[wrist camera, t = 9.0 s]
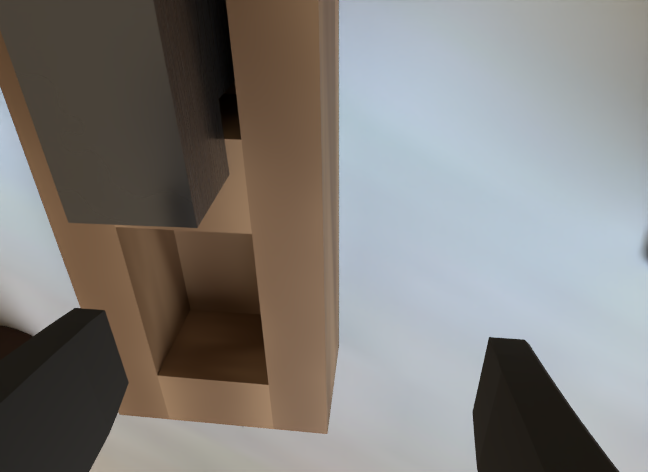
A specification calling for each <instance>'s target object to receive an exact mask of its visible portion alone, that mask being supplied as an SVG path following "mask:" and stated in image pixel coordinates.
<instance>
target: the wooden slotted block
mask: <svg viewBox="0 0 648 472" xmlns="http://www.w3.org/2000/svg"><path fill="white" fill-rule="evenodd" d="M226 5H227V14H228V23H229V32H230V41H231V50H232V59H233V68H234V77H235V81H234V82H233V83H232V84H231V86H230V87H229V88H228V89H227V90H226V91H225V92H224V94H223V95H222V96H221V97H220V98H219V104H220V111H221V118H222V125H223V132H224V139H225V146H226V153H227V160H228V167H229V174H230V175H229V176H228V178H227V180H226V181H225V183H224V185H223V186H222V188H221V190H220V191H219V193H218V195H217V196H216V198H215V200H214V201H213V203H212V205H211V206H210V208H209V210H208V211H207V213H206V215H205V216H204V218H203V220H202V221H201V223H200V225H199V226H198V228H182V227H157V226H133V225H108V224H83V223H68V220H67V217H66V215H65V212H64V209H63V206H62V203H61V200H60V198H59V195H58V192H57V189H56V186H55V183H54V181H53V178H52V175H51V172H50V169H49V166H48V164H47V161H46V158H45V155H44V152H43V150H42V147H41V144H40V141H39V138H38V135H37V133H36V130H35V127H34V124H33V121H32V118H31V116H30V113H29V110H28V107H27V104H26V102H25V99H24V96H23V93H22V90H21V87H20V85H19V82H18V79H17V76H16V73H15V70H14V68H13V65H12V62H11V59H10V56H9V53H8V51H7V48H6V45H5V42H4V39H3V37H2V34H1V31H0V87H1V90H2V93H3V95H4V98H5V101H6V104H7V106H8V109H9V112H10V115H11V117H12V120H13V123H14V126H15V128H16V131H17V134H18V137H19V139H20V142H21V145H22V148H23V150H24V153H25V156H26V159H27V161H28V164H29V167H30V170H31V172H32V175H33V178H34V181H35V183H36V186H37V189H38V192H39V194H40V197H41V200H42V203H43V205H44V208H45V211H46V214H47V216H48V219H49V222H50V225H51V228H52V230H53V233H54V236H55V239H56V241H57V244H58V247H59V250H60V252H61V255H62V258H63V261H64V263H65V266H66V269H67V272H68V274H69V277H70V280H71V283H72V285H73V288H74V291H75V294H76V296H77V299H78V302H79V305H80V307H81V308H83V309H97V310H105V312H106V315H107V318H108V321H109V324H110V327H111V330H112V333H113V336H114V339H115V342H116V345H117V348H118V351H119V354H120V357H121V360H122V363H123V367H124V370H125V373H126V376H127V379H128V382H129V384H128V386H127V389H126V392H125V394H124V397H123V400H122V403H121V405H120V408H119V411H118V412H119V415H130V416H141V417H152V418H162V419H173V420H184V421H194V422H205V423H216V424H226V425H237V426H248V427H258V428H269V429H280V430H290V431H301V432H312V433H322V434H327V432H328V425H329V417H330V409H331V402H332V394H333V386H334V379H335V371H336V363H337V356H338V348H339V0H226Z"/></svg>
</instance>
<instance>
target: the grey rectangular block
mask: <svg viewBox="0 0 648 472" xmlns="http://www.w3.org/2000/svg"><path fill="white" fill-rule="evenodd" d="M0 31H1V34H2V37H3V39H4V42H5V45H6V48H7V51H8V53H9V56H10V59H11V62H12V65H13V68H14V70H15V73H16V76H17V79H18V82H19V85H20V87H21V90H22V93H23V96H24V99H25V102H26V104H27V107H28V110H29V113H30V116H31V118H32V121H33V124H34V127H35V130H36V133H37V135H38V138H39V141H40V144H41V147H42V150H43V152H44V155H45V158H46V161H47V164H48V166H49V169H50V172H51V175H52V178H53V181H54V183H55V186H56V189H57V192H58V195H59V198H60V200H61V203H62V206H63V209H64V212H65V215H66V217H67V220H68V223H83V224H108V225H133V226H157V227H182V228H198V226H199V225H200V223H201V221H202V220H203V218H204V216H205V215H206V213H207V211H208V210H209V208H210V206H211V205H212V203H213V201H214V200H215V198H216V196H217V195H218V193H219V191H220V190H221V188H222V186H223V185H224V183H225V181H226V180H227V178H228V176H229V175H230V174H229V167H228V160H227V153H226V146H225V139H224V132H223V125H222V118H221V111H220V104H219V98H220V97H221V96H222V95H223V94H224V92H225V91H226V90H227V89H228V88H229V87H230V86H231V84H232V83H233V82H234V81H235V77H234V68H233V59H232V50H231V41H230V32H229V23H228V14H227V5H226V0H0Z"/></svg>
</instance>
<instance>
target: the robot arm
mask: <svg viewBox="0 0 648 472" xmlns="http://www.w3.org/2000/svg"><path fill="white" fill-rule="evenodd" d="M128 384H129V382H128V379H127V376H126V373H125V370H124V367H123V363H122V360H121V357H120V354H119V351H118V348H117V345H116V342H115V339H114V336H113V333H112V330H111V327H110V324H109V321H108V318H107V315H106V312H105V310H97V309H83V308H74V309H73V310H71V311H70V312H68V313H67V314H65V315H64V316H62V317H61V318H59V319H58V320H56V321H55V322H53V323H52V324H50V325H49V326H48V327H46V328H45V329H43V330H42V331H40V332H39V333H38V334H36V335H35V336H33V337H32V338H31V339H29V340H28V341H26V342H25V343H24V344H22V345H21V346H19V347H18V348H17V349H15V350H14V351H12V352H11V353H10V354H8V355H7V356H5V357H4V358H3V359H1V360H0V472H89V471H90V469H91V467H92V465H93V463H94V461H95V460H96V458H97V456H98V454H99V452H100V450H101V448H102V446H103V444H104V442H105V441H106V439H107V437H108V435H109V433H110V430H111V428H112V426H113V423H114V421H115V418H116V416H117V413H118V411H119V408H120V405H121V403H122V400H123V397H124V394H125V392H126V389H127V386H128ZM473 424H474V437H475V450H476V461H477V470H478V472H619V471H618V469H617V468H616V467H615V466H614V464H613V463H612V462H611V461H610V459H609V458H608V457H607V455H606V454H605V453H604V451H603V450H602V449H601V447H600V446H599V444H598V443H597V442H596V440H595V439H594V438H593V436H592V435H591V434H590V432H589V431H588V430H587V428H586V427H585V426H584V424H583V423H582V422H581V420H580V419H579V417H578V416H577V415H576V413H575V412H574V411H573V409H572V408H571V406H570V405H569V403H568V402H567V400H566V399H565V398H564V396H563V395H562V393H561V392H560V390H559V389H558V387H557V386H556V384H555V383H554V382H553V380H552V379H551V377H550V376H549V374H548V373H547V371H546V370H545V368H544V367H543V365H542V363H541V362H540V360H539V359H538V357H537V356H536V354H535V353H534V351H533V350H532V348H531V346H530V345H529V344H528V343H527V342H526V341H525V340H520V339H506V338H492V337H489V340H488V345H487V349H486V354H485V358H484V363H483V367H482V372H481V376H480V381H479V386H478V390H477V395H476V399H475V404H474V408H473Z"/></svg>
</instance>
